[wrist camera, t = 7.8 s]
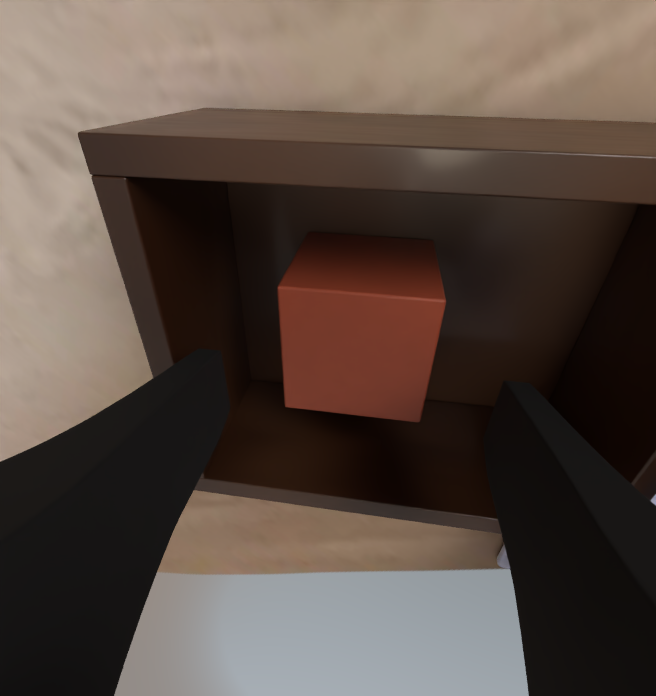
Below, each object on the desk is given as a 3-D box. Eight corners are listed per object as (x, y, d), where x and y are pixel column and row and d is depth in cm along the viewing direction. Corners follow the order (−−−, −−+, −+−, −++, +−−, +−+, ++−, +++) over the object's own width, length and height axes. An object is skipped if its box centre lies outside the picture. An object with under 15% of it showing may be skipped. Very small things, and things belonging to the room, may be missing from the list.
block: (415, 345, 16) (420, 423, 12) (308, 335, 16) (284, 408, 13) (434, 239, 13) (447, 300, 10) (307, 231, 14) (275, 286, 10)
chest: (242, 380, 20) (187, 489, 14) (203, 107, 13) (75, 131, 8) (550, 414, 18) (611, 550, 13) (690, 123, 11) (931, 167, 6)
